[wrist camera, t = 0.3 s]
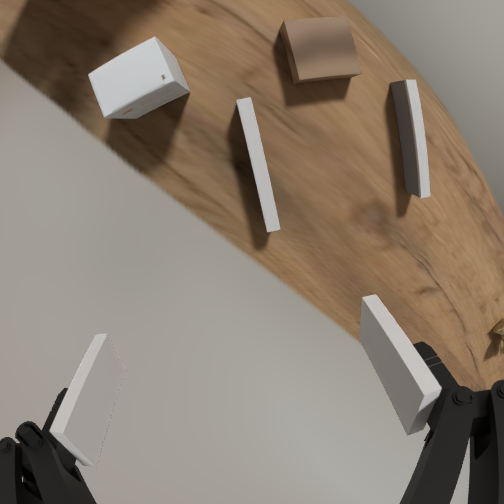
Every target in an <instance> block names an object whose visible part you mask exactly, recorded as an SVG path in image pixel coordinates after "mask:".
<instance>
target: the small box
mask: <svg viewBox="0 0 504 504" xmlns="http://www.w3.org/2000/svg"><path fill="white" fill-rule="evenodd" d="M88 77H89V79H90V82H91V85H92V88H93V90H94V93H95V96H96V98H97V101H98V103H99V106H100V109H101V111H102V114H103V116H104V118H122V119H137V118H139V117H140V116H142V115H144V114H146V113H148V112H150V111H152V110H154V109H156V108H158V107H160V106H162V105H164V104H166V103H168V102H170V101H172V100H174V99H176V98H179V97H181V96H183V95H185V94H187V93H190V90H189V88H188V85H187V83H186V81H185V78H184V76H183V74H182V71H181V69H180V67H179V64H178V62H177V60H176V58H175V56H174V55H173V54H172V53H171V52H170V51H169V50H168V49H167V48H166V47H165V46H164V45H163V44H162V43H161V42H160V41H159V40H158V39H157V38H156V37H153V38H151V39H149V40H146V41H144V42H143V43H141V44H139V45H137V46H135V47H133V48H131V49H129V50H128V51H126V52H124V53H122V54H120V55H119V56H117V57H115V58H114V59H112V60H110V61H109V62H107V63H105V64H104V65H102V66H100V67H99V68H97V69H96V70H94V71H92V72H91V73H89V74H88Z"/></svg>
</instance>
